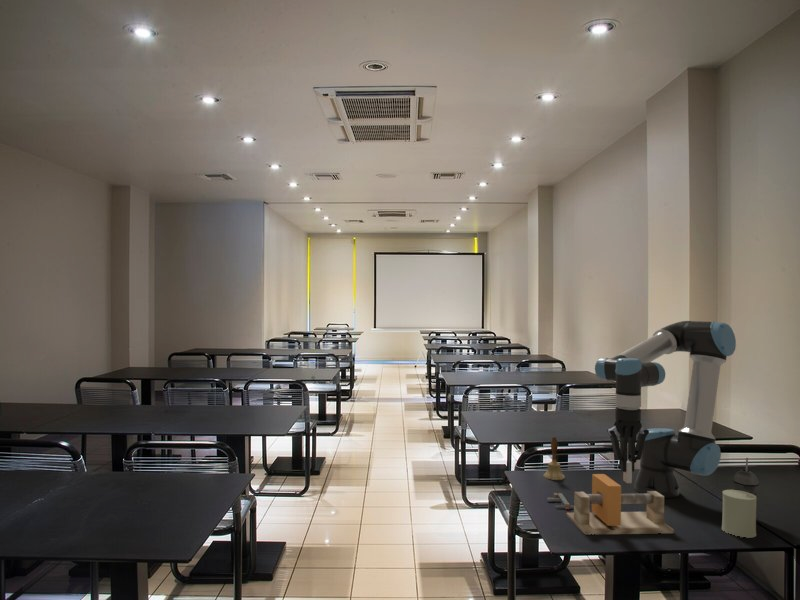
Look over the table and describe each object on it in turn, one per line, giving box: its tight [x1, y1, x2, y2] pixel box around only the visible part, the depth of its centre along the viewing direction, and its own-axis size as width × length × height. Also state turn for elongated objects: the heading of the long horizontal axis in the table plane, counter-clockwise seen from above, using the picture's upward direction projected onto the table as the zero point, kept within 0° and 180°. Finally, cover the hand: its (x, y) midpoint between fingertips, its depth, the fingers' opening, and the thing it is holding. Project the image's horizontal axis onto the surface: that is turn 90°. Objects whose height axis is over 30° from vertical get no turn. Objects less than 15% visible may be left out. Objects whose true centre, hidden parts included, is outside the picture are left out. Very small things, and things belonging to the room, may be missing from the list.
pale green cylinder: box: [721, 489, 757, 539], centre depth 175 cm, size 9×9×12 cm
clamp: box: [546, 492, 574, 510], centre depth 195 cm, size 15×2×10 cm
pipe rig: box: [565, 491, 675, 536], centre depth 179 cm, size 28×15×10 cm, turn 94°
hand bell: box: [543, 436, 566, 481], centre depth 227 cm, size 8×8×16 cm
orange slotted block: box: [591, 473, 622, 526], centre depth 179 cm, size 4×12×12 cm, turn 4°
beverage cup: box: [732, 457, 760, 497], centre depth 187 cm, size 7×7×20 cm
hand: (627, 481), depth 180 cm, fingers closed
